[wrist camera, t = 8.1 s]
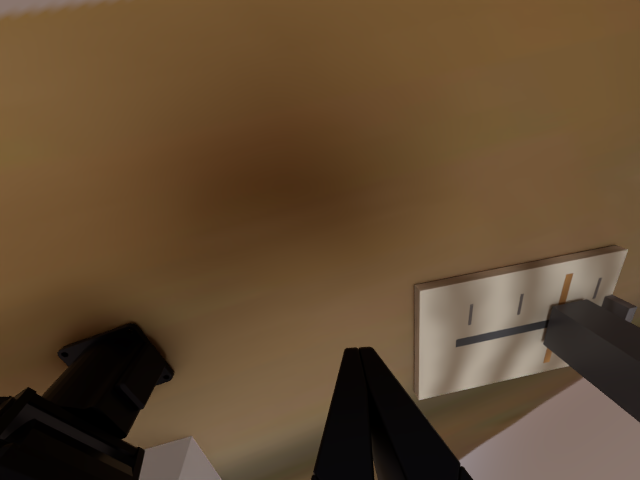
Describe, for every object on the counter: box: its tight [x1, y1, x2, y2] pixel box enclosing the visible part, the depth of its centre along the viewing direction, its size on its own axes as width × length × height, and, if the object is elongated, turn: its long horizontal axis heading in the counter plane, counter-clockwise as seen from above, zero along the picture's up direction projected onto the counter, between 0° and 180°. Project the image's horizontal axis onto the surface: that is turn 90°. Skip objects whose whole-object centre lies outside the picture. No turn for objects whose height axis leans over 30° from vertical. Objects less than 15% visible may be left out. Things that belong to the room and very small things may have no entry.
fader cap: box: [543, 299, 640, 422], centre depth 22 cm, size 4×5×10 cm
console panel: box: [414, 245, 637, 400], centre depth 26 cm, size 20×14×3 cm
